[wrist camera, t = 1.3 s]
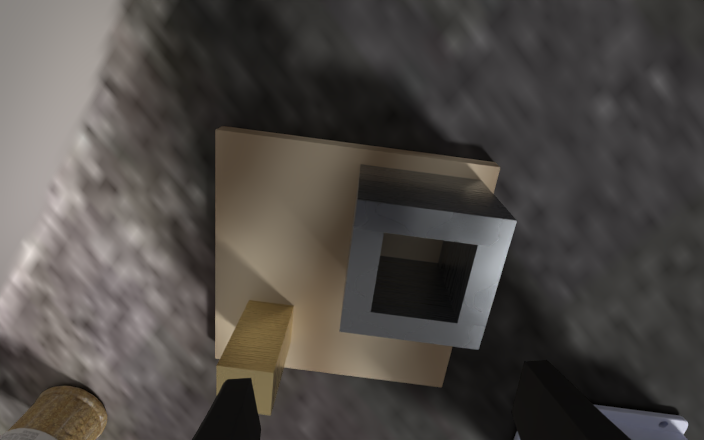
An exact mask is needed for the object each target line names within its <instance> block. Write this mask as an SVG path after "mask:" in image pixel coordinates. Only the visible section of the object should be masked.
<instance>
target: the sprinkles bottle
mask: <svg viewBox="0 0 704 440" xmlns="http://www.w3.org/2000/svg"><path fill="white" fill-rule="evenodd" d="M106 423H107V413H106V411H105V408H104V406H103V405H102V403H101V402H100V401H99V400H98V399H97V398H96V397H95V396H94V395H92V394H90V393H88V392H87V391H85V390H83V389H81V388H77V387H72V386H55V387H51V388H49V389H47V390H45V391H43V392H42V393H41V395H40V396H39V397H38V398H37V400H36V402H35V403H34V404H33V406H31V407H30V408H29V409H28V410H27V412H26V413H25V414H24V415H23V416H22V417H21V418H20V419H19V420H18V421H17V422H16V423H15V424H14V425H13V426H12V427H11V428H10V429H9V430H8V431H7V432H6V433H4V434H3V435H2V436H1V437H0V440H95V439H96V438H97V437H98V436H99V435H100V434H101V433H102V432H103V430H104V428H105V426H106Z"/></svg>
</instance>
